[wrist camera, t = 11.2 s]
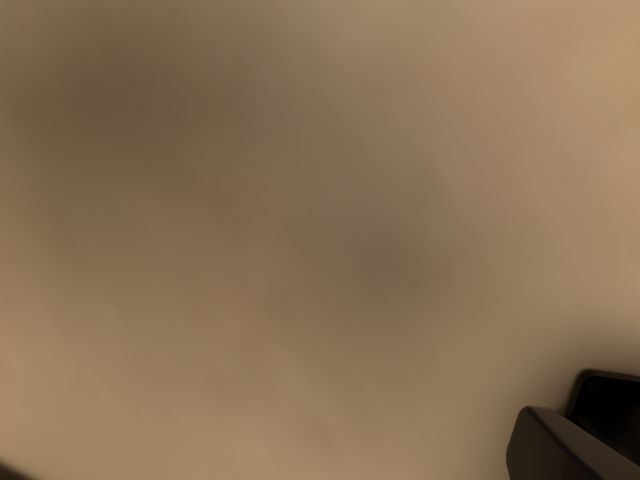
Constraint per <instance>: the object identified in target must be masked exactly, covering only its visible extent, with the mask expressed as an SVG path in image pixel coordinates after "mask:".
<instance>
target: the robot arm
mask: <svg viewBox="0 0 640 480" xmlns="http://www.w3.org/2000/svg"><path fill="white" fill-rule="evenodd" d="M594 381H596V383H595V384H594V385H593V386H591V387H588V385H589V383H591V382H594ZM506 464H507V469H508V473H509V477H510V480H640V377H635V376H628V375H621V374H614V373H607V372H600V371H586V372H584V373H582V374H581V375H580V376H579V378H578V379H577V382H576V385H575V388H574V390H573V393H572V396H571V399H570V402H569V405H568V408H567V410H566V413H565V416H564V417H562V416H561V415H559V414H558V413H556V412H555V411H553V410H552V409H549V408H543V407H534V406H525V407H524V408H522V409H521V410H520V412H519V414H518V417H517V420H516V423H515V426H514V429H513V432H512V435H511V438H510V441H509V444H508V447H507V452H506Z"/></svg>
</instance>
